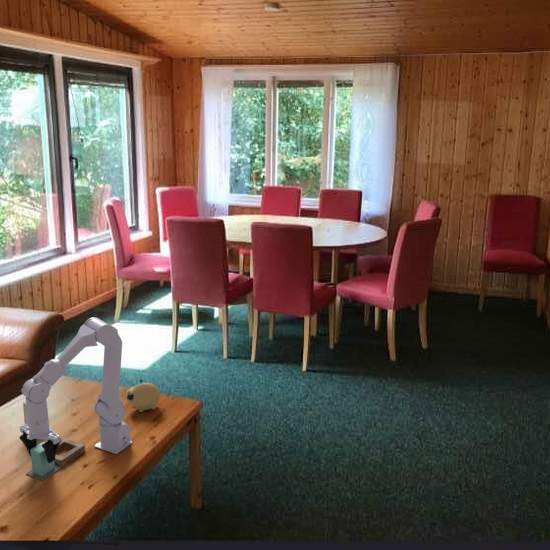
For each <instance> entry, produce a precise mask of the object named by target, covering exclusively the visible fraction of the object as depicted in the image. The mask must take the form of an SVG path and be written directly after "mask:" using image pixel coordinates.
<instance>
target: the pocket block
mask: <svg viewBox="0 0 550 550" xmlns="http://www.w3.org/2000/svg"><path fill="white" fill-rule="evenodd" d="M64 449H67V450H69V451H67V452H66V453H65V454H63V455H58V454H57V453H59V452H61V451H62V450H64ZM84 452H86V446H85V444H83V443H79V442H78V441H75V440H71V439H68V438H66V437H64V438H61V442H60V444H59V446H58V448H57V451H56V455H55V460H54V462H55V466H56V465H57V467H60V468H61V467H64V466H65V465H67V464H69V463H70V462H71V461H72V460H74V459H77V457H79V456H80V455H81V454H83V453H84Z"/></svg>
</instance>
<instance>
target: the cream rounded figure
mask: <svg viewBox="0 0 550 550" xmlns="http://www.w3.org/2000/svg"><path fill="white" fill-rule="evenodd" d="M160 395H161V394H160V391H159V388H158V386H157V385H155V384H154V383H152V382H142V383H139V384H137V385H134V386H130V387H128V389H127V390H126V393H125V399H126V401H127V403H128V404H130V405H133V406H134V407H135V408H136V409H137V410H138V411H139V413H140V412H142V413H144V411H146V410H156V408H157V407H156V406H157V404H158V403H159V400H160Z"/></svg>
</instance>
